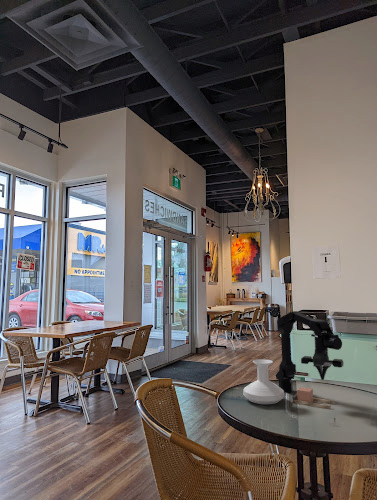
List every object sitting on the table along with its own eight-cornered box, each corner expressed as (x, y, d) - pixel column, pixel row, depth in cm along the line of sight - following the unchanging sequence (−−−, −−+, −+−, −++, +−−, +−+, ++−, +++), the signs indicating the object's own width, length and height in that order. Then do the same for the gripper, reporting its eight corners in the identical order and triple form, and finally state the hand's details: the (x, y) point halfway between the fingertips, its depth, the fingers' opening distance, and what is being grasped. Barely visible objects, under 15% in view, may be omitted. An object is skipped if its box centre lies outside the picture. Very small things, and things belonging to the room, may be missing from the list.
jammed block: (297, 402, 178) (297, 390, 178) (301, 399, 183) (300, 387, 183) (310, 404, 174) (309, 391, 175) (313, 401, 179) (312, 388, 180)
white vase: (292, 401, 180) (291, 361, 182) (267, 410, 168) (265, 367, 169) (260, 392, 196) (259, 355, 197) (235, 400, 183) (234, 361, 185)
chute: (291, 403, 178) (291, 396, 178) (296, 398, 185) (296, 392, 185) (330, 409, 168) (330, 402, 168) (334, 404, 175) (334, 397, 176)
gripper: (297, 347, 175) (298, 381, 173) (338, 351, 165) (340, 386, 163) (303, 344, 184) (304, 376, 183) (342, 347, 174) (344, 380, 173)
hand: (322, 379), depth 175 cm, fingers closed
